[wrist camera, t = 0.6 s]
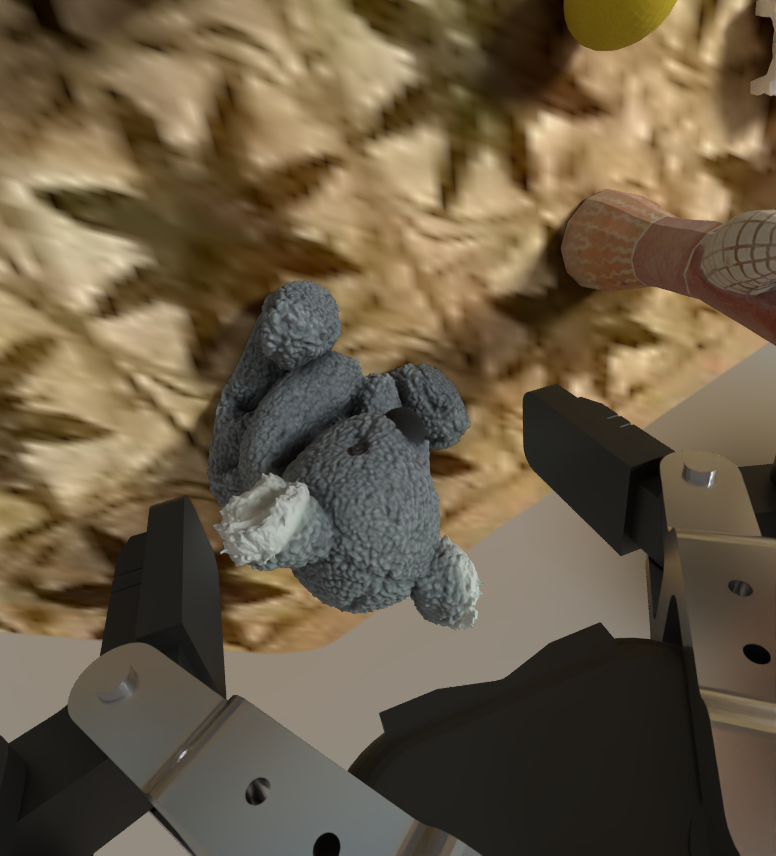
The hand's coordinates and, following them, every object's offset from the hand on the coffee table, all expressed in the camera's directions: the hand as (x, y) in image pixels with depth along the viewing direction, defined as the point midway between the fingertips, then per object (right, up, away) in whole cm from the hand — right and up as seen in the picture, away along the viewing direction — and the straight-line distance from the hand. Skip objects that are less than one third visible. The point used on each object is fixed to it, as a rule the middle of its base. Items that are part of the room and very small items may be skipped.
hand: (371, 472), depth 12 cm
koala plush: (-6, +2, +29) cm, 30 cm away
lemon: (+12, +28, +22) cm, 38 cm away
